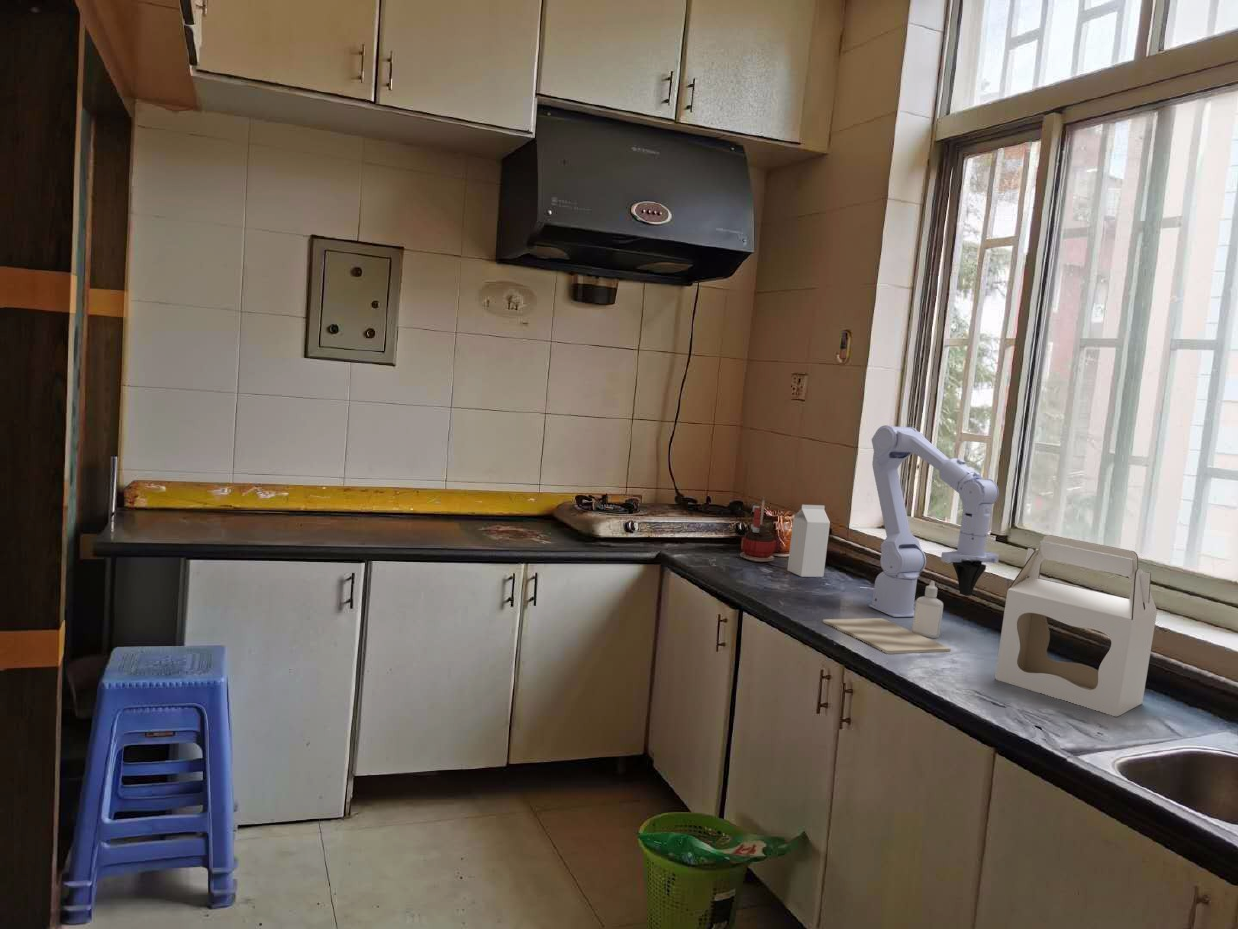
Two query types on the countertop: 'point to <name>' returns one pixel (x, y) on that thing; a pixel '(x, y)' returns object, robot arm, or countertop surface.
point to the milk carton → (809, 541)
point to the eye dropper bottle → (928, 613)
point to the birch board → (886, 635)
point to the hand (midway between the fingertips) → (965, 594)
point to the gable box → (1078, 607)
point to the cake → (758, 539)
